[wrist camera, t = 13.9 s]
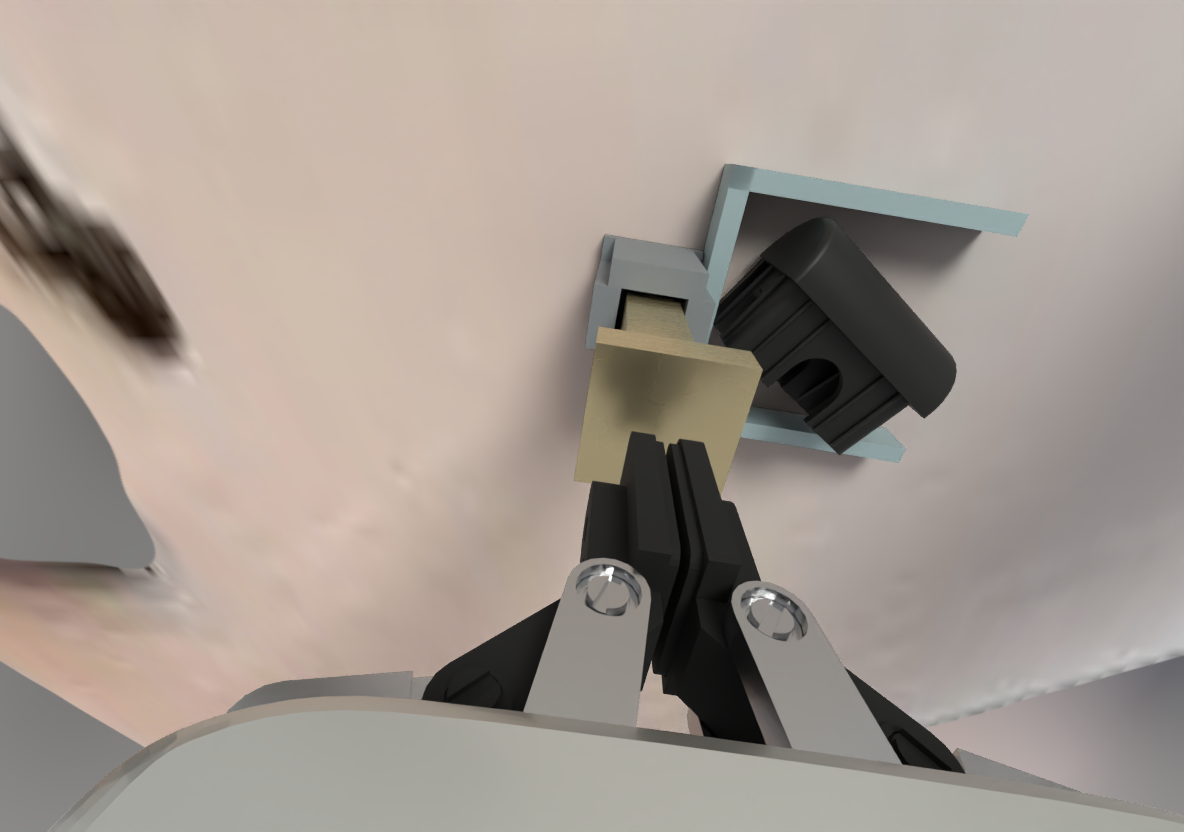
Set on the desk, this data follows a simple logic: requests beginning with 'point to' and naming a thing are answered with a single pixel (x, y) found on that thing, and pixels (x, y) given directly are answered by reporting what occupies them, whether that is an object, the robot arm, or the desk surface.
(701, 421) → the pin
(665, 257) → the u-shaped bracket with socket
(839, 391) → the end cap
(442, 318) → the desk surface
